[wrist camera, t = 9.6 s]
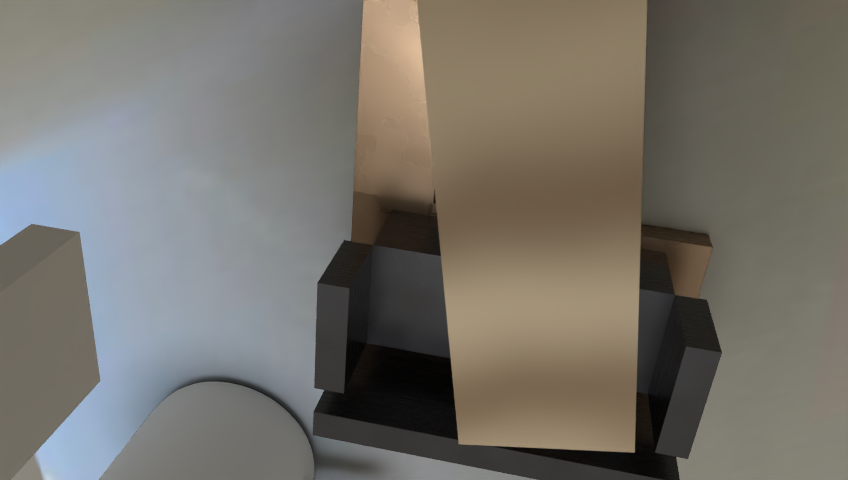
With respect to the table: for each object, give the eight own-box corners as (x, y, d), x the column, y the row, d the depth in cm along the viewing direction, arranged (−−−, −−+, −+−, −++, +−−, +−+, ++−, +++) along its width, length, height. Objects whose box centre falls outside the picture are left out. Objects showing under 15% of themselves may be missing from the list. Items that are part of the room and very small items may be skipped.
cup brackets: (387, -309, 23) (314, -373, 16) (854, -274, 21) (968, -331, 15) (352, 323, 32) (298, 432, 26) (667, 379, 31) (688, 509, 25)
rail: (440, -162, 20) (400, -168, 16) (636, -184, 19) (652, -198, 15) (478, 349, 27) (458, 444, 23) (625, 352, 26) (634, 452, 22)
